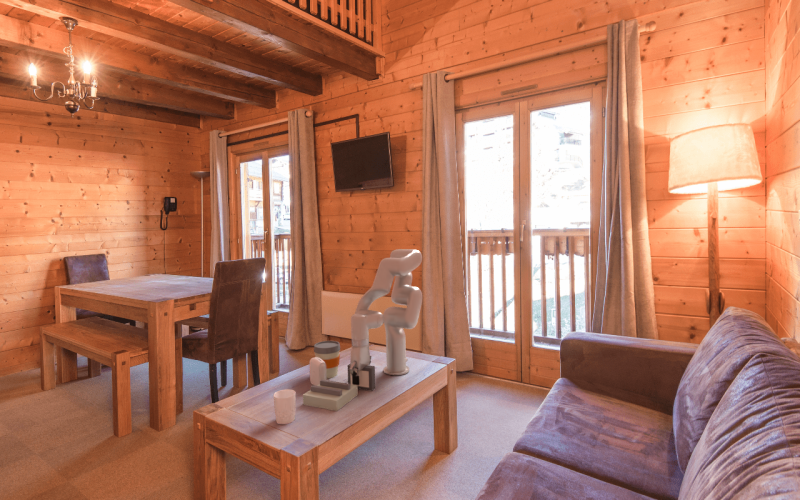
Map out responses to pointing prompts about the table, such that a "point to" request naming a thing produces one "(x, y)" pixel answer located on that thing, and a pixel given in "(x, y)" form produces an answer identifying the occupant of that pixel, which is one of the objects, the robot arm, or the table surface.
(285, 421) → the white cup
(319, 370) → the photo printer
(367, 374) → the thin grey panel
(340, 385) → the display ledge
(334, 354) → the reusable coffee cup
